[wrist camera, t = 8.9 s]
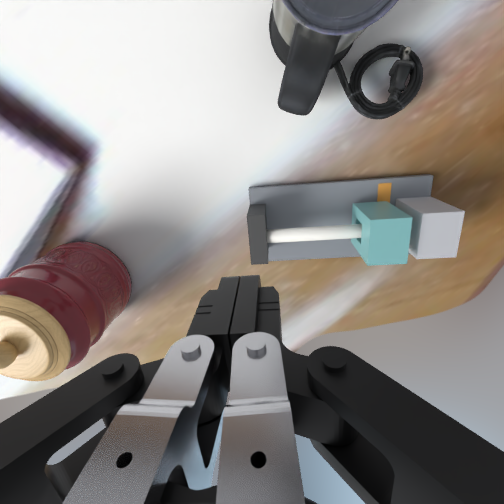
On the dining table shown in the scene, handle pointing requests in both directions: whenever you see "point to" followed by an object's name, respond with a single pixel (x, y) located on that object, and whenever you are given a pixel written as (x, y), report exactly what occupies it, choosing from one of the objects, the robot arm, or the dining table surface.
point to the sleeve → (382, 233)
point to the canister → (59, 309)
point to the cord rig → (345, 218)
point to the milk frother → (336, 54)
